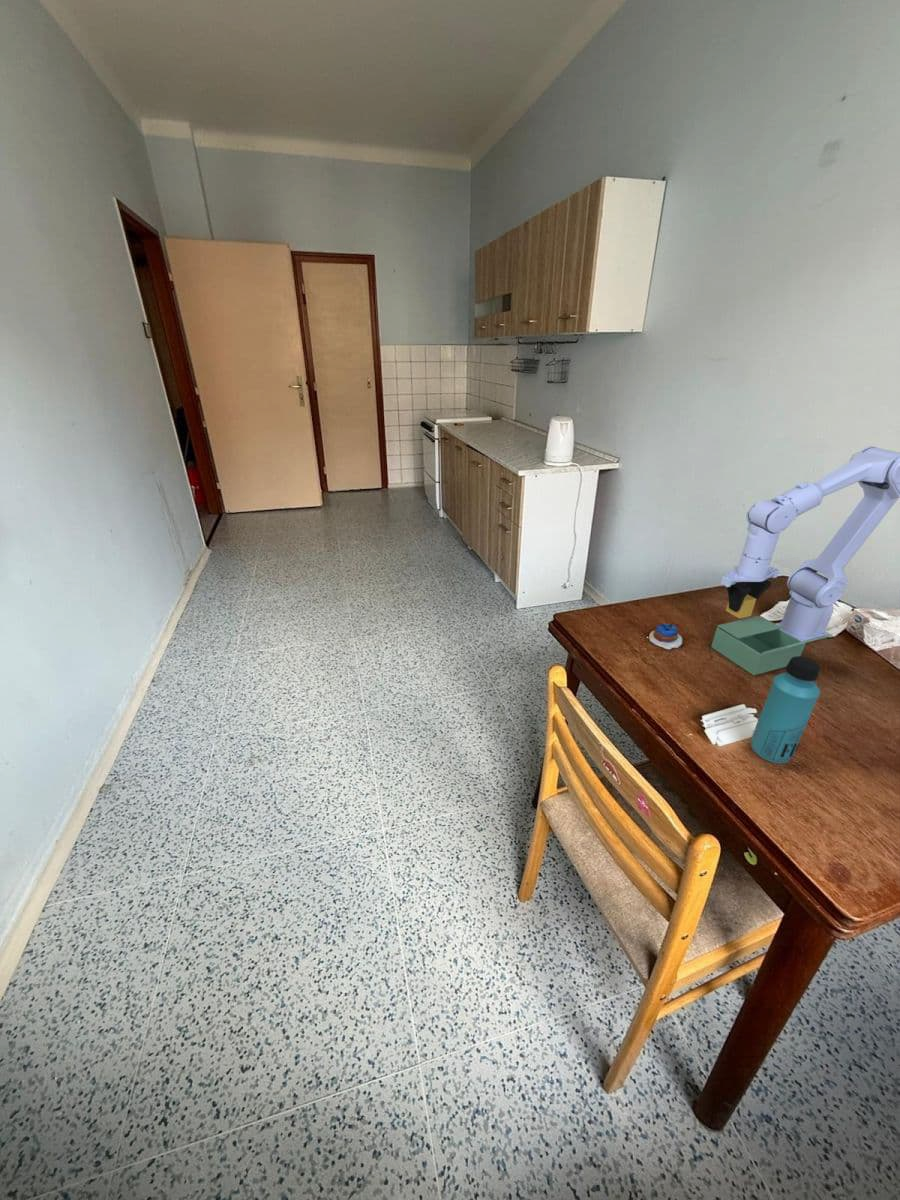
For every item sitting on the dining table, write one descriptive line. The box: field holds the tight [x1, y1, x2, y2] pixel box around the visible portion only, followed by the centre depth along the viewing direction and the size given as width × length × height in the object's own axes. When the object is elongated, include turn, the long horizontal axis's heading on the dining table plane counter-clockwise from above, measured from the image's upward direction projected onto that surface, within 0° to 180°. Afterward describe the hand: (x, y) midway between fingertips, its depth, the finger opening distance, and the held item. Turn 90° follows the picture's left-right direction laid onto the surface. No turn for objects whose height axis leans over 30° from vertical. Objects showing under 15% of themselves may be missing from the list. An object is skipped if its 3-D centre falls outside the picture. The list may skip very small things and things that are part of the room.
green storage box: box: [711, 615, 807, 676], centre depth 107 cm, size 13×12×6 cm
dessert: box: [648, 623, 683, 650], centre depth 114 cm, size 8×7×6 cm
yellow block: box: [725, 594, 757, 619], centre depth 111 cm, size 4×4×5 cm
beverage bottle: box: [749, 656, 821, 764], centre depth 77 cm, size 6×7×20 cm
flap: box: [762, 634, 833, 653], centre depth 98 cm, size 13×6×1 cm
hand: (740, 608), depth 111 cm, fingers closed on yellow block, 3 cm apart
